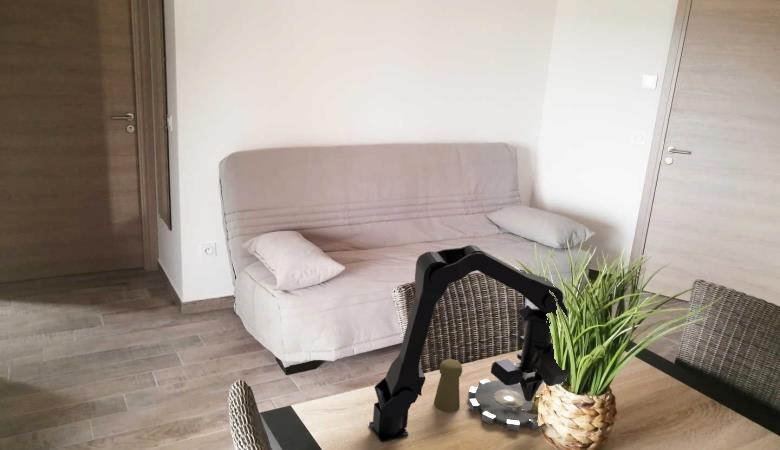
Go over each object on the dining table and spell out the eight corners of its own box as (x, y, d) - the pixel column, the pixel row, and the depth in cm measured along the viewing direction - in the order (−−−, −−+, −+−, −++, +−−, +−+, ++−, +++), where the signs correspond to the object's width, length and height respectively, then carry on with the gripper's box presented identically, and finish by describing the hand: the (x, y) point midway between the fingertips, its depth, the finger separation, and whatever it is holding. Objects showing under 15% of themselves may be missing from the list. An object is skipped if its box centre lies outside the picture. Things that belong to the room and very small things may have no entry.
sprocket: (524, 442, 123) (528, 418, 121) (452, 405, 134) (455, 382, 132) (562, 407, 136) (566, 385, 135) (494, 376, 148) (497, 355, 146)
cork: (458, 414, 131) (463, 371, 128) (432, 409, 132) (436, 366, 129) (460, 399, 137) (466, 358, 134) (435, 395, 138) (440, 353, 135)
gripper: (527, 362, 113) (517, 430, 118) (598, 347, 121) (585, 412, 126) (493, 336, 123) (485, 401, 127) (561, 324, 131) (551, 385, 135)
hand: (527, 400), depth 129 cm, fingers closed
